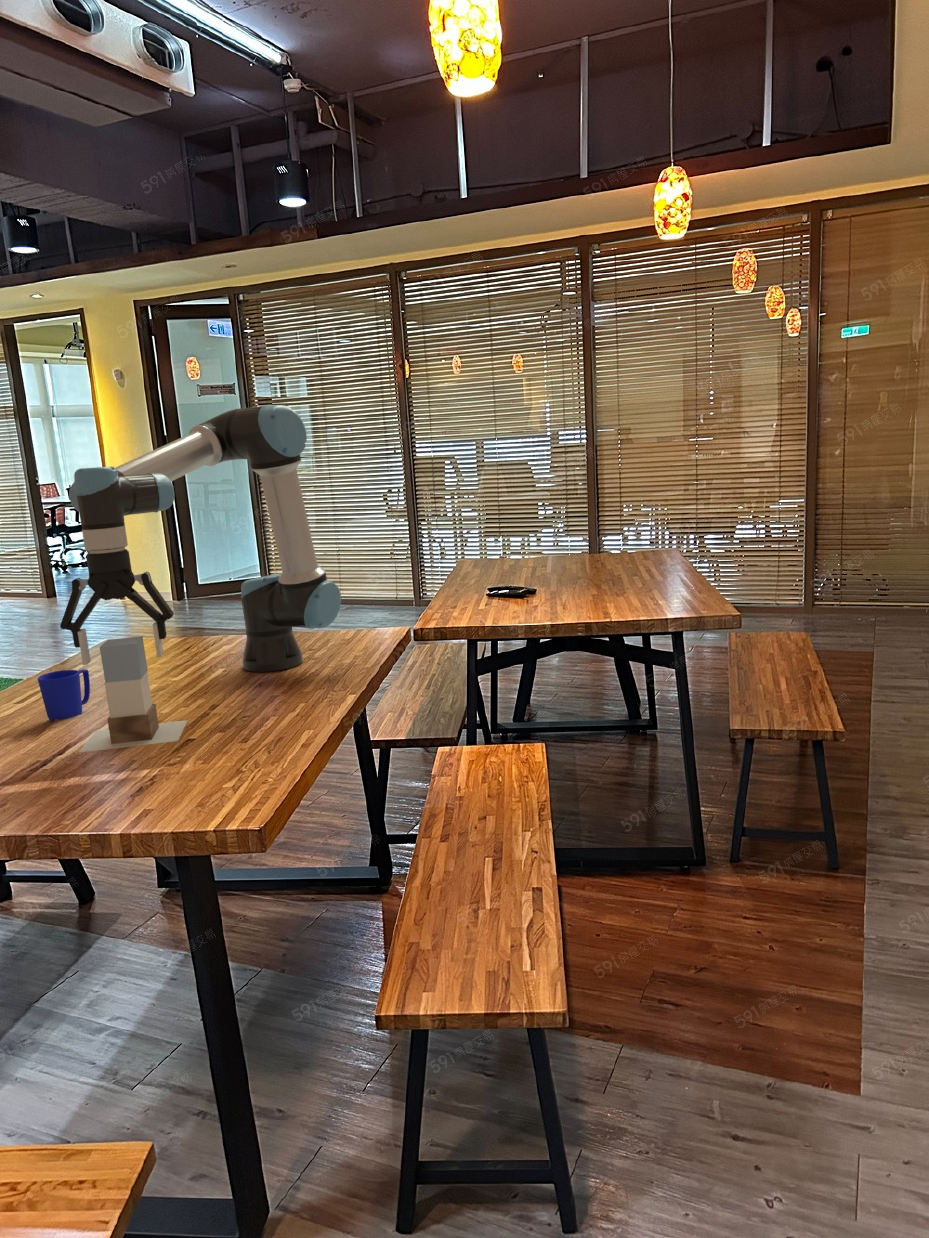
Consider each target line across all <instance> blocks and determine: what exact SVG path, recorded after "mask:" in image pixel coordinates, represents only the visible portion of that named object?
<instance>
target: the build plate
mask: <svg viewBox="0 0 929 1238" xmlns="http://www.w3.org/2000/svg"><path fill="white" fill-rule="evenodd" d="M188 721H189V720H188V719H186V720H178V721H176V720H175V721H169V722H168V721H167V722H160V723H159V722H158V724H159V728H158V730H157V732H156V733H155V735H154V737H153V738H152V739H151V740H143V741H134V742H126V743H117V744H111V739H110V733H109V728H107V729H98V730H95V731H94V732H93V734H92V735H91V736H90V737H89V739H88V740H87V741H86V743H84V745H83V746H82V747H81V749H80V750H79V752H78V753H88V752H96V751H103V750H105V751H106V750H114V749H120V748H122V749H123V748H130V747H138V746H146V745H147V746H148V745H155V744H156V745H157V744H164V743H171V742H173V743H174V742H178V741H179V740H180V737H181V735H182V733H183V732H184V729H185V727H186V725H187V723H188Z"/></svg>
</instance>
